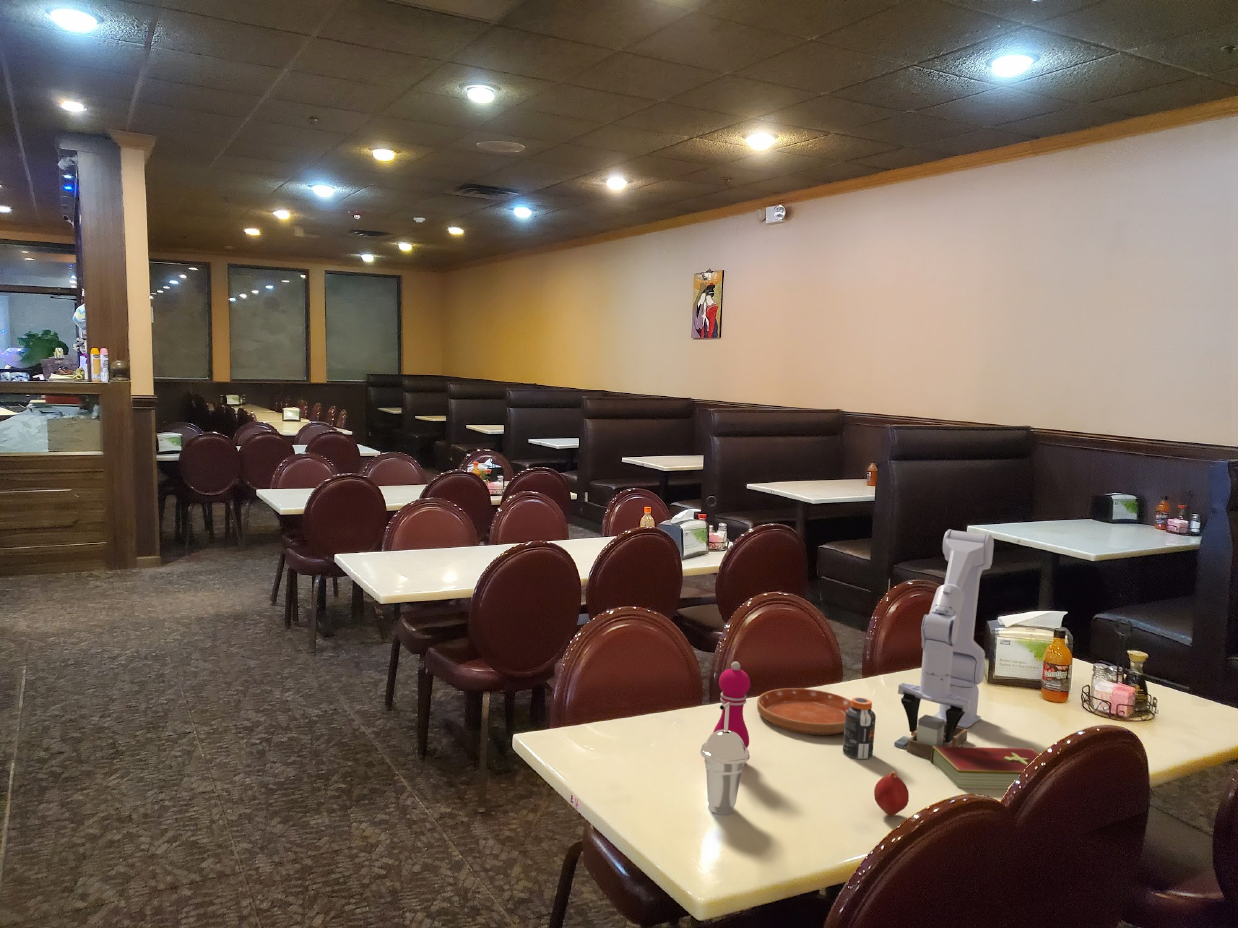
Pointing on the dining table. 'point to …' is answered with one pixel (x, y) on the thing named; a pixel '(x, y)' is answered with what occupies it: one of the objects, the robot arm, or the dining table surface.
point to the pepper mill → (734, 700)
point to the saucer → (804, 710)
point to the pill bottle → (859, 729)
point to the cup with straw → (724, 766)
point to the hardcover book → (982, 765)
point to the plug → (930, 730)
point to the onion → (891, 794)
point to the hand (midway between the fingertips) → (930, 735)
